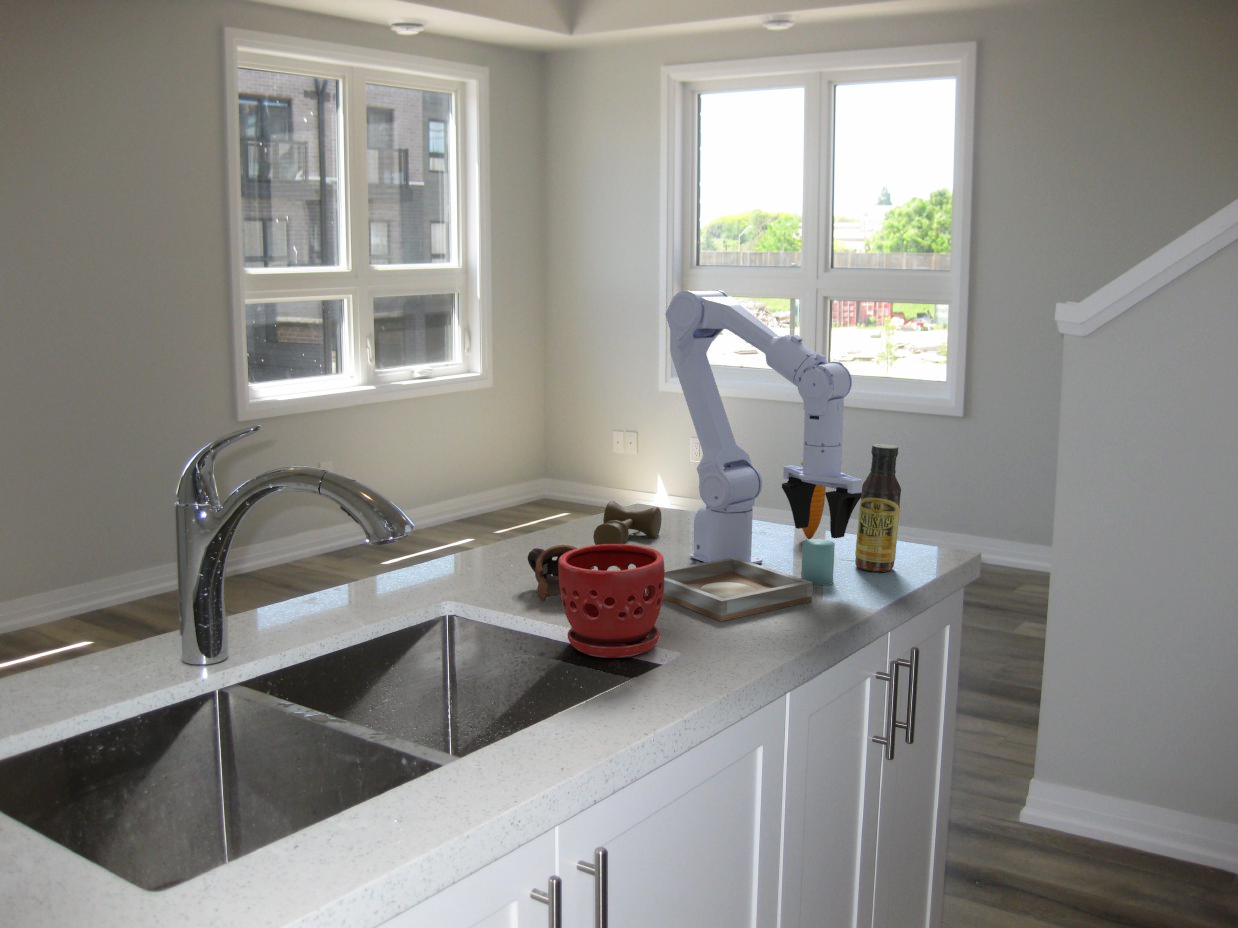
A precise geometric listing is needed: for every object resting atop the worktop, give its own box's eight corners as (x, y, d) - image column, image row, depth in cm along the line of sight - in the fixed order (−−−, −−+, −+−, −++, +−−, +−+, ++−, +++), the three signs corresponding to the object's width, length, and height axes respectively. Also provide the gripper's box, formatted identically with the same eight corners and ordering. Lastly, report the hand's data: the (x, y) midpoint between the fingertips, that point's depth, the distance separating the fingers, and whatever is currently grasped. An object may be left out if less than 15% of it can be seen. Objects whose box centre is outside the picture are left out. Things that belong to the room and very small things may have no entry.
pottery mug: (610, 593, 170) (606, 554, 164) (569, 634, 164) (563, 594, 159) (548, 561, 176) (542, 522, 170) (507, 599, 170) (499, 559, 165)
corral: (646, 591, 169) (646, 573, 169) (733, 574, 179) (734, 557, 178) (721, 621, 155) (721, 601, 155) (811, 601, 165) (812, 582, 165)
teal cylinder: (794, 579, 177) (796, 541, 176) (817, 574, 179) (818, 537, 178) (816, 586, 173) (818, 547, 172) (839, 581, 175) (841, 543, 174)
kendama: (579, 553, 194) (618, 524, 212) (633, 559, 191) (668, 530, 209) (579, 518, 192) (619, 493, 211) (634, 524, 189) (669, 498, 208)
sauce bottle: (851, 570, 182) (857, 446, 178) (858, 561, 187) (864, 441, 184) (893, 575, 179) (900, 449, 176) (899, 565, 185) (906, 443, 182)
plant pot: (584, 626, 153) (584, 538, 151) (677, 639, 148) (679, 548, 146) (540, 656, 141) (540, 561, 139) (640, 671, 136) (641, 573, 134)
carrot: (823, 543, 199) (826, 458, 197) (794, 541, 200) (797, 456, 198) (823, 536, 204) (827, 453, 202) (795, 535, 205) (798, 452, 203)
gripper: (769, 439, 176) (767, 526, 178) (839, 452, 164) (835, 545, 167) (803, 436, 180) (800, 521, 182) (873, 448, 168) (869, 538, 171)
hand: (819, 532), depth 175 cm, fingers open, 7 cm apart
